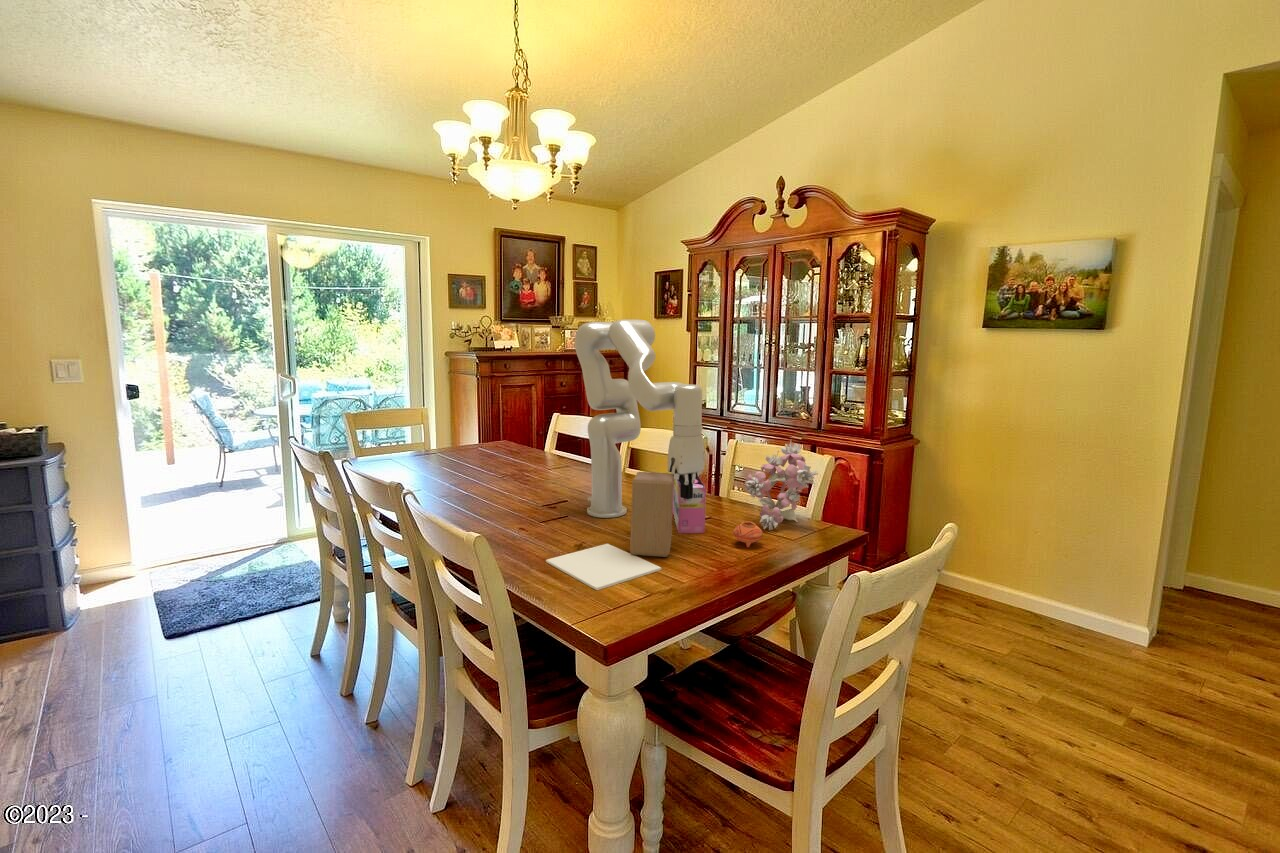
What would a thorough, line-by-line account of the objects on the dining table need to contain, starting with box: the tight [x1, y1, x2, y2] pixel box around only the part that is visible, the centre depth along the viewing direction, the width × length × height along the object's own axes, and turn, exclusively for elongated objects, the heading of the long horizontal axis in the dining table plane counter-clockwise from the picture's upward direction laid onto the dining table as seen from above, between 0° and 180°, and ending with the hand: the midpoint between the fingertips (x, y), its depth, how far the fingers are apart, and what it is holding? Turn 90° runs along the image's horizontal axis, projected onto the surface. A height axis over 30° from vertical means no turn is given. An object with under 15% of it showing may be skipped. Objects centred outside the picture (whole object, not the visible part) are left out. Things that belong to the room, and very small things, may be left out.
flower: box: [744, 439, 819, 531], centre depth 183 cm, size 20×22×25 cm
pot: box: [732, 520, 764, 549], centre depth 165 cm, size 8×8×7 cm
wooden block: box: [629, 471, 674, 558], centre depth 158 cm, size 10×10×20 cm
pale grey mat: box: [545, 543, 662, 591], centre depth 150 cm, size 22×19×1 cm
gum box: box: [672, 475, 707, 534], centre depth 186 cm, size 24×8×14 cm, turn 2°
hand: (686, 497), depth 166 cm, fingers closed
